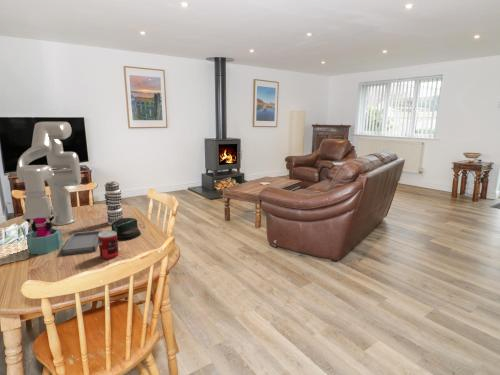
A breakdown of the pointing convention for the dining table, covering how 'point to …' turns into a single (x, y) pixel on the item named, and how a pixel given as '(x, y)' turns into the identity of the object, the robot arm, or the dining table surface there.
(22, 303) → the dining table surface
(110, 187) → the gray white banded cylinder
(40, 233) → the pepper mill
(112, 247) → the canned food
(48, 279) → the dining table surface
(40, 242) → the crock
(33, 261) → the dining table surface
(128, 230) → the black hat
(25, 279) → the dining table surface
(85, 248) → the tray
